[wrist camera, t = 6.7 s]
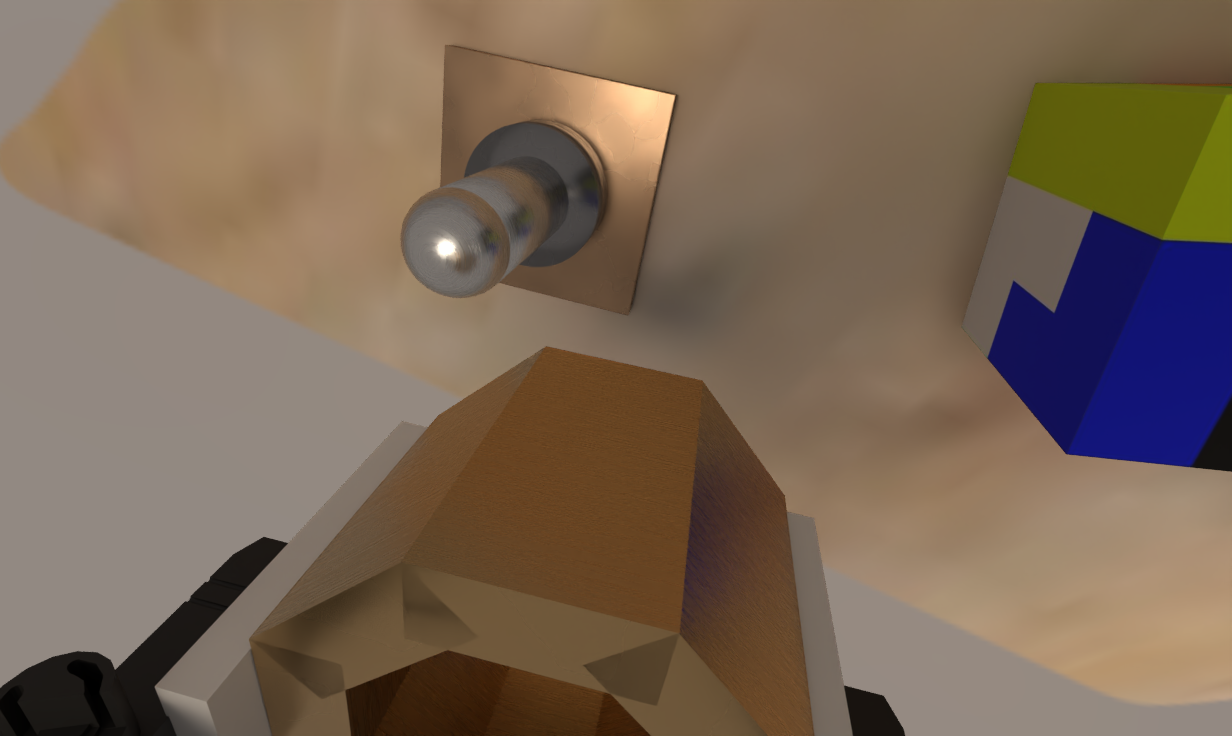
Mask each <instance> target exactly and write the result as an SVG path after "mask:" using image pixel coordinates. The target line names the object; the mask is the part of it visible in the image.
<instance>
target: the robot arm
mask: <svg viewBox="0 0 1232 736" xmlns="http://www.w3.org/2000/svg"><path fill="white" fill-rule="evenodd" d="M427 428H428V427H424V426H420V425H416V424H412V423H407V422H403V421H402V422H401V423H400V424H399V425H398V426H397V427H396V428H395V429H394V430H393V431H392V433H391V434H390V435H389V436H388V437H387V438H386V439H385V440H384V441H383V442H382V443H381V445H379V446H378V448H377V449H376V450H375V451H374V452H373V453H372V454H371V455H370V456H369V457H368V458H367V459H366V460H365V462H364V463H363V464H362V465H361V466H360V467H359V468H358V469H357V470H356V471H355V472H354V473H353V474H352V476H351V477H350V478H349V479H348V480H347V481H346V482H345V483H344V484H343V485H342V486H341V487H340V489H338V490H337V492H336V493H335V494H334V495H333V496H332V497H331V498H330V499H329V500H328V501H327V502H326V503H325V504H324V506H323V507H322V508H321V509H320V510H319V511H318V512H317V513H316V514H315V515H314V516H313V517H312V518H311V519H310V520H309V522H308V523H307V524H306V525H305V526H304V527H303V528H302V529H301V530H300V531H299V532H298V533H297V534H296V536H295V537H294V538H293V539H292V540H291V541H290V542H289V543H285V542H282V541H278V540H274V539H270V538H266V537H263V538H261V539H259V540H258V541H256V542H254V543H252V544H251V545H249V546H247V547H245V548H244V549H242V550H240V551H239V552H237V553H235V554H233V555H232V556H231V557H230V558H229V559H228V560H227V561H226V562H225V563H224V564H223V565H222V566H221V567H220V568H219V569H218V570H217V571H216V572H215V573H214V574H213V575H212V576H211V577H210V580H209V581H208V582H205V583H204V584H203V585H202V586H201V587H200V588H199V589H198V590H197V591H195V592H194V594H193V595H191V598H190V600H189V601H188V602H184V603H183V604H182V605H181V606H180V607H179V608H178V609H177V610H176V611H175V612H174V613H173V614H172V615H171V616H170V617H169V618H168V619H167V620H166V621H165V622H164V623H163V624H162V625H161V626H160V627H159V628H158V629H157V630H156V631H155V632H154V633H152V635H150V637H148V638H147V640H145V641H144V642H143V643H142V644H141V645H140V646H139V647H138V648H137V649H136V650H135V651H134V652H133V653H132V654H131V655H130V656H129V657H128V658H127V659H126V660H125V661H124V662H123V663H122V664H121V665H120V666H119V667H118V668H117V669H116V670H115V669H114V667H113V664H112V662H111V660H109V659H108V658H106V657H104V656H103V655H101V654H99V653H96V652H79V651H77V652H72V653H68V654H64V655H59V656H55V657H51V658H49V659H47V660H45V661H43V662H41V663H38V664H36V665H34V666H32V667H30V668H28V669H26V670H24V671H23V672H21V673H20V674H19V675H17V676H16V677H14V678H13V679H12V680H10V681H9V682H7V683H6V684H4V685H3V686H2V687H1V688H0V736H272V732H271V728H270V724H269V720H268V715H267V711H266V707H265V703H264V699H263V695H262V691H261V687H260V683H259V679H258V675H257V671H256V667H255V662H254V658H253V654H252V650H251V646H250V642H249V638H250V637H251V636H252V634H253V633H254V632H255V631H256V630H257V629H258V627H259V626H260V625H261V624H262V623H263V621H264V620H265V619H266V618H267V617H268V616H269V614H270V613H271V612H272V611H273V610H274V608H275V607H276V606H277V605H278V604H279V603H280V601H281V600H282V599H283V598H284V597H285V596H286V594H287V593H288V592H289V591H290V590H291V588H292V587H293V586H294V585H295V584H296V583H297V581H298V580H299V579H300V578H301V577H302V576H303V574H304V573H305V572H306V571H307V570H308V568H309V567H310V566H311V565H312V564H313V563H314V561H315V560H316V559H317V558H318V557H319V555H320V554H321V553H322V552H323V551H324V550H325V548H326V547H327V546H328V545H329V544H330V543H331V541H332V540H333V539H334V538H335V537H336V535H337V534H338V533H339V532H340V531H341V530H342V528H343V527H344V526H345V525H346V524H347V522H348V521H349V520H350V519H351V518H352V517H353V515H354V514H355V513H356V512H357V511H358V510H359V508H360V507H361V506H362V505H363V504H364V502H365V501H366V500H367V499H368V498H369V497H370V495H371V494H372V493H373V492H374V491H375V489H376V488H377V487H378V486H379V485H380V484H381V482H382V481H383V480H384V479H385V478H386V477H387V475H388V474H389V473H390V472H391V471H392V469H393V468H394V467H395V466H396V465H397V464H398V462H399V461H400V460H401V459H402V458H403V457H404V455H405V454H406V453H407V452H408V451H409V449H410V448H411V447H412V446H413V445H414V444H415V442H416V441H417V440H418V439H419V438H420V436H421V435H422V434H423V433H424V432H425V431H426V429H427ZM787 518H788V526H789V535H790V543H791V551H792V559H793V567H794V575H795V583H796V591H797V599H798V607H799V615H800V623H801V631H802V639H803V647H804V655H805V663H806V671H807V680H808V688H809V696H810V704H811V712H812V720H813V728H814V736H905V733H904V729H903V727H902V726H901V724H900V722H899V721H898V719H897V717H896V716H895V714H894V712H893V711H892V709H891V707H890V706H889V704H888V702H887V701H886V699H885V697H884V696H882V695H878V694H874V693H870V692H866V691H863V690H859V689H855V688H852V687H848V686H844V684H843V678H842V673H841V667H840V661H839V656H838V650H837V644H836V639H835V633H834V627H833V622H832V616H831V611H830V605H829V600H828V594H827V588H826V583H825V578H824V572H823V566H822V560H821V554H820V549H819V543H818V538H817V532H816V526H815V521H814V518H812V517H808V516H803V515H799V514H795V513H791V512H787Z"/></svg>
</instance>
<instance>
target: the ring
mask: <svg viewBox="0 0 1232 736" xmlns="http://www.w3.org/2000/svg"><path fill="white" fill-rule="evenodd" d="M249 642H250V646H251V650H252V654H253V658H254V662H255V667H256V671H257V675H258V679H259V683H260V687H261V691H262V695H263V699H264V703H265V707H266V711H267V715H268V720H269V724H270V728H271V732H272V736H814V728H813V720H812V712H811V704H810V696H809V688H808V680H807V671H806V663H805V655H804V647H803V639H802V631H801V623H800V615H799V607H798V599H797V591H796V583H795V575H794V567H793V559H792V551H791V543H790V535H789V526H788V518H787V510H786V502H785V495H784V494H783V493H782V491H781V490H780V488H779V487H778V486H777V484H776V483H775V481H774V480H773V479H772V477H771V476H770V474H769V473H768V472H767V470H766V469H765V467H764V466H763V465H762V463H761V462H760V460H759V459H758V458H757V456H756V455H755V453H754V452H753V451H752V449H751V448H750V446H749V445H748V444H747V442H746V441H745V439H744V438H743V437H742V435H741V434H740V432H739V431H738V430H737V428H736V427H735V425H734V424H733V423H732V421H731V420H730V418H729V417H728V416H727V414H726V413H725V411H724V410H723V409H722V407H721V406H720V404H719V403H718V402H717V400H716V399H715V398H714V396H713V395H712V393H711V392H710V391H709V389H708V388H707V386H706V385H705V384H704V382H703V381H702V380H697V379H693V378H688V377H683V376H679V375H674V374H670V373H665V372H661V371H656V370H651V369H647V368H642V367H638V366H633V365H629V364H624V363H619V362H615V361H610V360H606V359H601V358H597V357H592V356H587V355H583V354H578V353H574V352H569V351H565V350H560V349H555V348H551V347H545V348H543V349H541V350H540V351H538V352H537V353H535V354H534V355H532V356H531V357H529V358H527V359H526V360H524V361H523V362H521V363H520V364H518V365H516V366H515V367H513V368H512V369H510V370H509V371H507V372H505V373H504V374H502V375H501V376H499V377H498V378H496V379H494V380H493V381H491V382H490V383H488V384H487V385H485V386H484V387H482V388H480V389H479V390H477V391H476V392H474V393H473V394H471V395H469V396H468V397H466V398H465V399H463V400H462V401H460V402H458V403H457V404H455V405H454V406H452V407H451V408H449V409H448V410H446V411H445V412H443V413H441V414H440V415H438V416H437V418H436V419H435V420H434V421H433V422H432V424H431V425H430V426H429V427H428V428H427V429H426V431H425V432H424V433H423V434H422V435H421V436H420V438H419V439H418V440H417V441H416V442H415V444H414V445H413V446H412V447H411V448H410V449H409V451H408V452H407V453H406V454H405V455H404V457H403V458H402V459H401V460H400V461H399V462H398V464H397V465H396V466H395V467H394V468H393V469H392V471H391V472H390V473H389V474H388V475H387V477H386V478H385V479H384V480H383V481H382V482H381V484H380V485H379V486H378V487H377V488H376V489H375V491H374V492H373V493H372V494H371V495H370V497H369V498H368V499H367V500H366V501H365V502H364V504H363V505H362V506H361V507H360V508H359V510H358V511H357V512H356V513H355V514H354V515H353V517H352V518H351V519H350V520H349V521H348V522H347V524H346V525H345V526H344V527H343V528H342V530H341V531H340V532H339V533H338V534H337V535H336V537H335V538H334V539H333V540H332V541H331V543H330V544H329V545H328V546H327V547H326V548H325V550H324V551H323V552H322V553H321V554H320V555H319V557H318V558H317V559H316V560H315V561H314V563H313V564H312V565H311V566H310V567H309V568H308V570H307V571H306V572H305V573H304V574H303V576H302V577H301V578H300V579H299V580H298V581H297V583H296V584H295V585H294V586H293V587H292V588H291V590H290V591H289V592H288V593H287V594H286V596H285V597H284V598H283V599H282V600H281V601H280V603H279V604H278V605H277V606H276V607H275V608H274V610H273V611H272V612H271V613H270V614H269V616H268V617H267V618H266V619H265V620H264V621H263V623H262V624H261V625H260V626H259V627H258V629H257V630H256V631H255V632H254V633H253V634H252V636H251V637H250V638H249Z"/></svg>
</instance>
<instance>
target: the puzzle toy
mask: <svg viewBox="0 0 1232 736" xmlns="http://www.w3.org/2000/svg"><path fill="white" fill-rule="evenodd" d="M962 328H963V329H964V331H965V332H966V333H967V334H968V335H969V337H970V338H971V339H972V340H973V341H974V343H975V344H976V345H977V346H978V348H979V349H980V350H981V351H982V352H983V354H984V355H985V356H986V357H987V358H988V360H989V361H990V362H991V363H992V365H993V366H994V367H995V368H996V369H997V371H998V372H999V373H1000V374H1001V376H1002V377H1003V378H1004V379H1005V380H1006V382H1007V383H1008V384H1009V385H1010V386H1011V388H1012V389H1013V390H1014V391H1015V393H1016V394H1017V395H1018V396H1019V397H1020V399H1021V400H1022V401H1023V402H1024V403H1025V405H1026V406H1027V407H1028V408H1029V410H1030V411H1031V412H1032V413H1033V414H1034V416H1035V417H1036V418H1037V419H1038V420H1039V422H1040V423H1041V424H1042V425H1043V427H1044V428H1045V429H1046V430H1047V431H1048V433H1049V434H1050V435H1051V436H1052V438H1053V439H1054V440H1055V441H1056V442H1057V444H1058V445H1059V446H1060V447H1061V448H1062V450H1063V451H1064V452H1065V453H1066V454H1069V455H1079V456H1088V457H1098V458H1107V459H1117V460H1126V461H1136V462H1145V463H1155V464H1165V465H1174V466H1184V467H1193V468H1203V469H1212V470H1222V471H1231V472H1232V84H1147V83H1036V84H1035V87H1034V90H1033V93H1032V97H1031V100H1030V103H1029V107H1028V110H1027V113H1026V116H1025V120H1024V123H1023V126H1022V130H1021V133H1020V136H1019V140H1018V143H1017V146H1016V149H1015V153H1014V156H1013V159H1012V163H1011V166H1010V169H1009V172H1008V176H1007V179H1006V182H1005V186H1004V189H1003V192H1002V195H1001V199H1000V202H999V205H998V209H997V212H996V215H995V219H994V222H993V225H992V228H991V232H990V235H989V238H988V242H987V245H986V248H985V251H984V255H983V258H982V261H981V265H980V268H979V271H978V274H977V278H976V281H975V284H974V288H973V291H972V294H971V298H970V301H969V304H968V307H967V311H966V314H965V317H964V321H963V324H962Z"/></svg>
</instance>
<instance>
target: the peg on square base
mask: <svg viewBox="0 0 1232 736" xmlns="http://www.w3.org/2000/svg"><path fill="white" fill-rule="evenodd" d="M676 97H677V94H672V93H668V92H663V91H658V90H654V89H649V88H645V87H640V86H636V85H631V84H626V83H622V82H617V81H613V80H608V79H604V78H599V77H595V76H590V75H585V74H581V73H576V72H572V71H567V70H563V69H558V68H554V67H549V66H544V65H540V64H535V63H531V62H526V61H522V60H517V59H513V58H508V57H503V56H499V55H494V54H490V53H485V52H481V51H476V50H471V49H467V48H462V47H458V46H453V45H445V60H444V91H443V122H442V153H441V185H440V188H438V189H435V190H433V191H431V192H429V193H427V194H425V195H424V196H422V197H421V198H420V199H418V200H417V201H416V202H415V203H414V204H413V206H412V207H411V208H410V209H409V211H408V213H407V215H406V217H405V219H404V222H403V225H402V230H401V249H402V253H403V256H404V260H405V262H406V264H407V266H408V268H409V270H410V271H411V272H412V274H413V275H414V276H415V278H416V279H417V280H418V281H419V282H420V283H422V284H423V285H424V286H426V287H427V288H428V289H430V290H432V291H433V292H436V293H438V294H441V295H444V296H448V297H453V298H467V297H473V296H477V295H479V294H482V293H484V292H486V291H488V290H490V289H491V288H493V287H494V286H495V285H496V284H498V283H503V284H506V285H510V286H514V287H518V288H522V289H526V290H530V291H534V292H538V293H542V294H546V295H550V296H554V297H558V298H562V299H566V300H569V301H573V302H577V303H581V304H585V305H589V306H593V307H597V308H601V309H605V310H609V311H613V312H617V313H621V314H625V315H628V314H629V312H630V310H631V306H632V302H633V297H634V292H635V288H636V283H637V278H638V274H639V269H640V264H641V260H642V255H643V251H644V246H645V241H646V237H647V232H648V227H649V223H650V218H651V213H652V209H653V204H654V199H655V195H656V190H657V185H658V181H659V176H660V171H661V167H662V162H663V158H664V153H665V148H666V144H667V139H668V134H669V130H670V125H671V120H672V116H673V111H674V106H675V102H676Z"/></svg>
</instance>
